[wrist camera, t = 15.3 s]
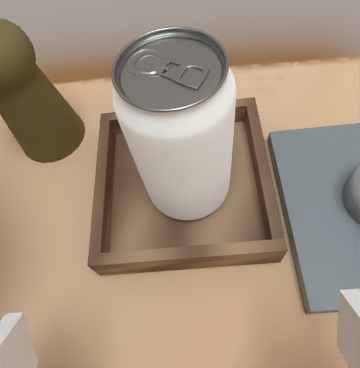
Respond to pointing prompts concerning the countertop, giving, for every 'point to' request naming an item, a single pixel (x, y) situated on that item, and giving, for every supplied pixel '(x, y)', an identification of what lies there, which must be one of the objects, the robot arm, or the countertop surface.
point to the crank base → (321, 208)
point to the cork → (34, 101)
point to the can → (178, 117)
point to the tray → (184, 229)
